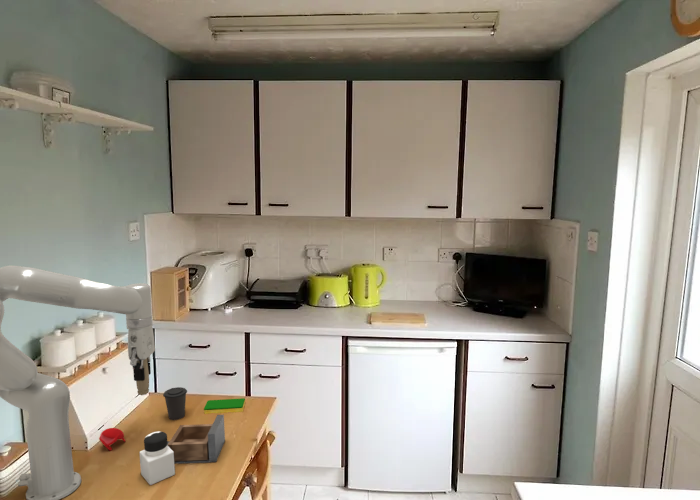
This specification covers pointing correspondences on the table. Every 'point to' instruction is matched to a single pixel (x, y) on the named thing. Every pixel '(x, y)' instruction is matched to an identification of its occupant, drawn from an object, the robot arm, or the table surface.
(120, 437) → the red curved legged piece
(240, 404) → the dish sponge
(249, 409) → the table surface
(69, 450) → the robot arm
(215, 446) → the track
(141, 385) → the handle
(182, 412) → the coffee cup
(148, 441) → the medicine bottle
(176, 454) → the open wooden box
